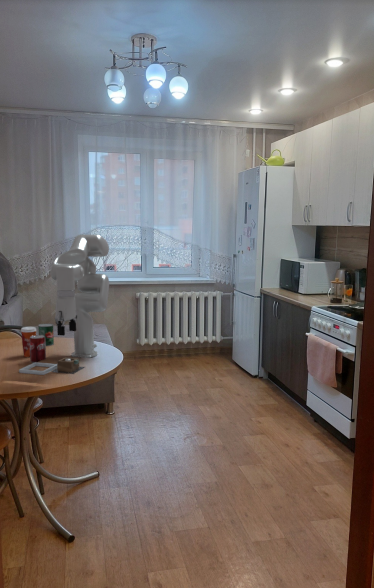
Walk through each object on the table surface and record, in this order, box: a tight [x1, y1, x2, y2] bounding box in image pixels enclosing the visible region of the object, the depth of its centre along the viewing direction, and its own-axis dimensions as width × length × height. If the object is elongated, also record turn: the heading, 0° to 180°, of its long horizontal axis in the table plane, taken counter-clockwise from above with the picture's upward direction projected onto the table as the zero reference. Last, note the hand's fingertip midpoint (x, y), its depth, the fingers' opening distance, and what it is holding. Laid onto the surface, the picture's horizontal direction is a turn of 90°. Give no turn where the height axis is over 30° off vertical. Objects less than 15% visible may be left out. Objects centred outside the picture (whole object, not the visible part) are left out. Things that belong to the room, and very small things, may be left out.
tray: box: [18, 362, 57, 376], centre depth 208 cm, size 12×12×2 cm
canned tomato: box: [37, 323, 55, 347], centre depth 259 cm, size 8×8×11 cm
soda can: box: [29, 334, 47, 364], centre depth 225 cm, size 7×7×12 cm
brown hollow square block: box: [56, 356, 80, 372], centre depth 208 cm, size 7×8×4 cm
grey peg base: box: [50, 357, 86, 375], centre depth 208 cm, size 11×11×6 cm
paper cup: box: [20, 326, 37, 358], centre depth 236 cm, size 8×8×14 cm
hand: (67, 333), depth 206 cm, fingers open, 9 cm apart
